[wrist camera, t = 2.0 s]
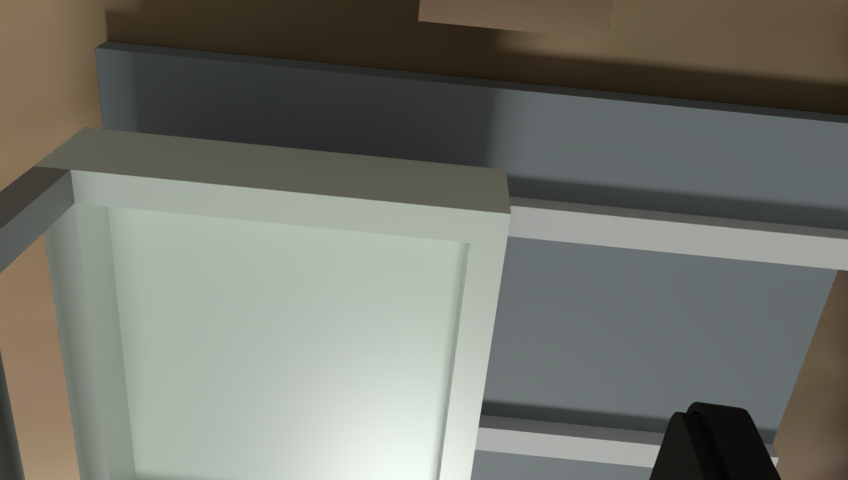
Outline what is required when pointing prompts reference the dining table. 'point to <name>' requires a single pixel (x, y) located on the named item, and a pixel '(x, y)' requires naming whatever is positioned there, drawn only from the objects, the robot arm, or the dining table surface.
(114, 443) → the shallow sage tray
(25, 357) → the dining table surface
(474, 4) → the walnut block
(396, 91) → the track
